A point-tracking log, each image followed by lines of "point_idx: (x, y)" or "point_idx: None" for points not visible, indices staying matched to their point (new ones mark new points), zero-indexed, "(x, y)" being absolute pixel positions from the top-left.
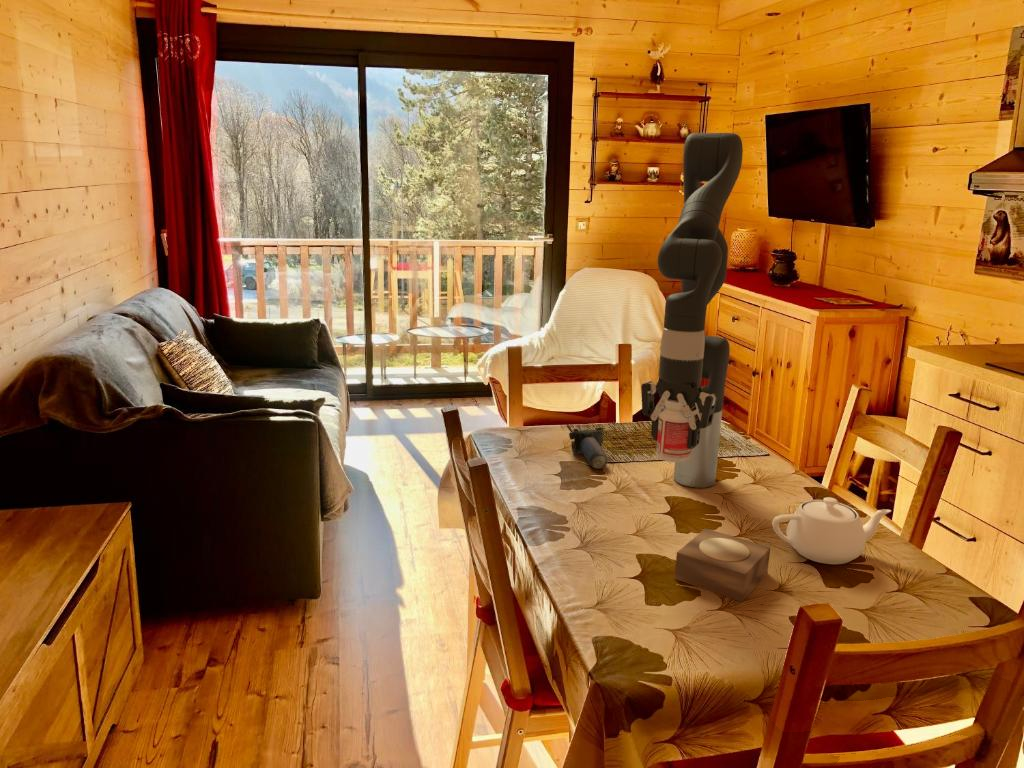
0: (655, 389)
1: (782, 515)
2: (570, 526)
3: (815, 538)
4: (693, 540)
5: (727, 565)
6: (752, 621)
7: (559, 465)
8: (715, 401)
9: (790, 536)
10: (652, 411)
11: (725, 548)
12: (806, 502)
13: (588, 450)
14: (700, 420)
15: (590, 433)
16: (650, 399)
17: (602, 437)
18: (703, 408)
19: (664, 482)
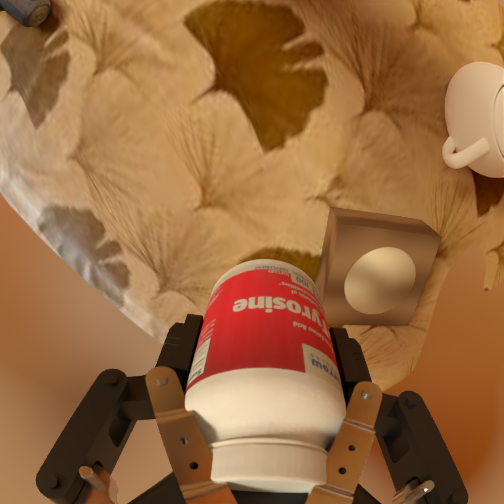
0: (112, 498)
1: (466, 158)
2: (114, 236)
3: (493, 175)
4: (332, 278)
5: (387, 319)
6: (404, 327)
7: (3, 58)
8: (454, 486)
9: (457, 145)
10: (146, 418)
11: (383, 280)
12: (495, 95)
13: (13, 15)
14: (378, 419)
15: None
16: (110, 449)
17: None
18: (396, 489)
19: None
